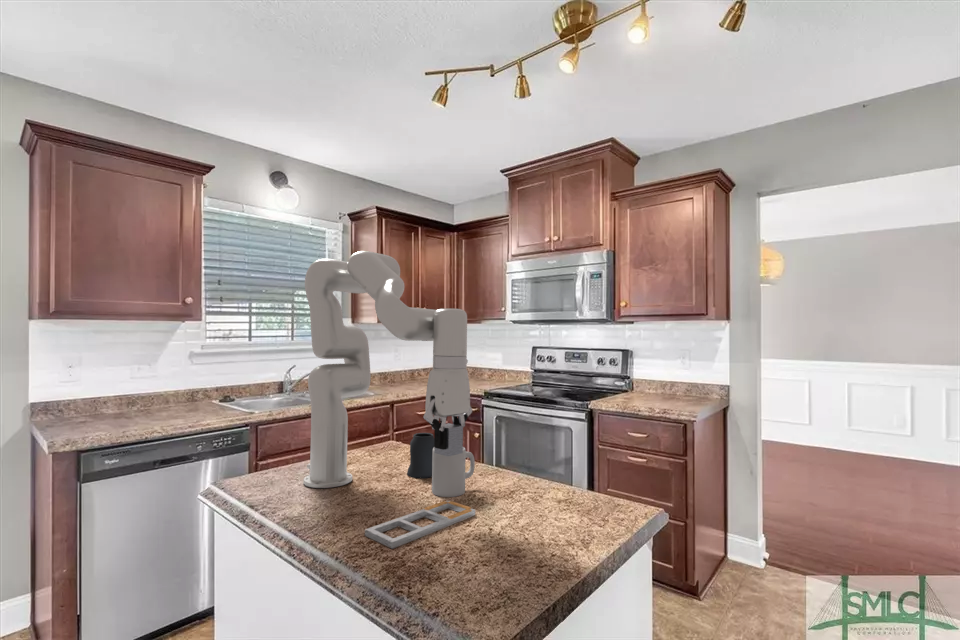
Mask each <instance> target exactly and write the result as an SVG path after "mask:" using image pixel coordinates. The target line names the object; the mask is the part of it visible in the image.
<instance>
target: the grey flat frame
mask: <svg viewBox="0 0 960 640" xmlns="http://www.w3.org/2000/svg"><path fill="white" fill-rule="evenodd" d="M447 509H449V510H451V511H454V512H456V513H453V514H451V515H448V516H445V515H443V514H441V513H439V512H442V511H444V510H447ZM474 516H476V509H474V508H472V507H471V506H468V505H465V504H461V503H459V502H455V501H453V500H446V501H445V500H443V501H440V502H438V503H437V502H436V503H435V504H432V505H430V506H429V505H428V506H427V507H424V508H423V509H420V510H417V511H415V512H412V513H407V514H406V515H402V516H400V517H397V518H394V519H392V520H389V521H385V522H382V523H379V524H377V525H374V526H371V527H368V528H365V529H364V537H366V538H369V539H371V540H373V541H375V542H376V543H379V544H381V545H383V546H386V547H388V548H389V549H392V550H393V549H395V548H397V547H401V546H403V545H406V544H408V543H410V542H412V541H415V540H417V539H420V538H422V537H425V536H427V535H430V534H432V533H435V532H437V531H439V530H442V529H445V528H447V527H450V526H452V525H454V524H456V523H460V522H462V521H464V520H467V519H469V518H471V517H474ZM423 518H426V519H429V520H432V521H433V523H429V524H428V525H424V526H420V525H417V524H415V523H412V522H414V521H417V520H420V519H423ZM396 528H400V529H404V530H406V531H408V532H407V533H404V534H402V535H399V536H396V537H394V538H393V537H392V536H389V535H388V534H385V533H384V532H387V531H390V530H392V529H396Z"/></svg>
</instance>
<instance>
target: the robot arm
mask: <svg viewBox="0 0 960 640" xmlns="http://www.w3.org/2000/svg"><path fill="white" fill-rule="evenodd" d="M304 289H305V295H306V299H307V303H308V307H309V313H310V314H309V317H310V318H309V320H310V321H309V322H310V336H311V337H310V338H311V348H312V352H313V354H314V355H315V357H317V358H318V359H324V360H338V359H339V360H340V359H342V360H343V361H344V362H343V363H326V364H322V365H321V364H320V365H318V366H316V367H315V368H313V369H312V370H311V371H310V373H309V375H308V378H307V386H308V392H309V398H310V399H309V400H310V450H309V451H310V453H309V454H310V457H309V463H307V465H306V469H307V470H309V475H306V476H305V477H303V481H302V483H303V485H304V486H305V487H308V488H314V489H315V488H316V489H330V488H336V487H342V486H344V485H348V484H349V483H351V482H353V481H352V480H353V475H352V473H350V472H348V471H347V470H348V469H347V468H348V465H347V464H348V434H349V432H348V431H349V429H348V427H349V422H348V421H349V417H348V412H347V408H346V406H345V404H344V402H343V401H342V399H344V398H353V397H360V396H362V395H364V394H365V393H367V392H368V391H369V389H370V385H371V377H372V376H371V375H372V374H371V364H370V363H371V361H370V348H369V341H368V337H367V334H366V333H365V331H364V330H363V329H362V328H361V327H358V326H356V325H346V324H344V319H343V318H344V317H343V308H342V306H341V303H340V302H339V299H338V298H337V297H336V295H335V294H334V292H341V293H342V292H343V293H349V294H350V293H351V294H365V293H366V294H368V295H369V296H370V297H371V299H372V300H374V310H375V314H376V317H377V319H378V321H379V322H380V323H381V324H382V325H383V326H384V327H385V328H386V329H387V330H388V332H389V333H391V334H392V335H393V336H394V337H395V338H397V339H399V340H401V341H404V342H405V341H408V342H410V341H411V342H413V341H414V342H416V341H417V342H418V341H419V342H420V341H421V342H432V344H433V346H432V369H431V370H430V371H429V373H428V374H429V375H428V379H427V384H426V394H425V406H424V407H425V408H424V410H425V412H424V415H423V419H424V420H425V421H426V422H427V423H429V425H430V426H431V428H432V430H433V431H434V433H433V435H434V447H435V448H438V449H442V450H444V449H446V431H444V429H445V424H447V417H451V421H452V424H456V425H461V426H463V428H464V427H466V421H467V420H468V418H469V416H471V414H473V408H472V406H471V389H470V388H471V387H470V378H469V372H468V370H467V368H468V366H467V364H468V361H469V360H468V359H467V356H468V355H467V352H468V351H467V350H468V314H467V312H466V311H465V310H464V309H460V308H439V309H432V308H431V309H430V308H424V307H423V308H422V307H409V306H408V305H407V304H405V303H404V302H403V301H402V300H401V297H402V296H403V293H404V291H405V282H404V280H403V278H401V266H400V264H399V262H398V261H397V260H396V258H394V257H392V256H390V255H387V254H384V253H377V252H374V251H367V250H360V251H357V252H354V253H352V254H351V255H350V256H349V258H348V260H347V261H345V260H340V259H333V258H321V259H317V260H315V261H313V262H312V263H311V264H310V265H309V267H308V268H307V271H306V273H305V277H304Z"/></svg>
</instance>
